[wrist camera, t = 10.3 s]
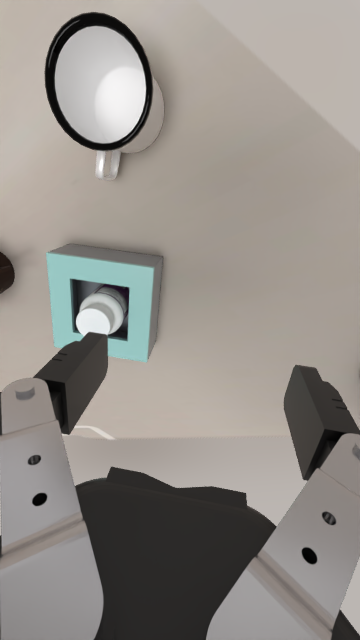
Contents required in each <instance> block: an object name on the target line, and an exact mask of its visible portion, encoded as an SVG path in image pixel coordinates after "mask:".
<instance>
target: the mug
mask: <svg viewBox="0 0 360 640" xmlns="http://www.w3.org/2000/svg"><path fill="white" fill-rule="evenodd" d="M45 88H46V93H47V98H48V101H49V104H50V107H51V110H52V112H53V114H54V116H55V118H56V120H57V121H58V123H59V124H60V126H61V127H62V128H63V130H64V131H65V132H66V133H67V134H68V135H69V136H70V137H71V138H72V139H73V140H75V141H76V142H78V143H79V144H81V145H83V146H85V147H87V148H90V149H92V150H97V155H96V170H95V172H96V177H97V178H98V179H101V180H106V181H111V180H114V179H115V178H116V176H117V173H118V167H119V162H120V156H121V152H123V153H136V152H140V151H142V150H144V149H146V148H147V147H149V146H150V145H151V144H152V143H153V142H154V140H155V139H156V138H157V136H158V134H159V132H160V130H161V128H162V124H163V120H164V101H163V96H162V92H161V90H160V88H159V85H158V83H157V82H156V80H155V79H154V77H153V75H152V71H151V67H150V62H149V60H148V57H147V55H146V52H145V50H144V48H143V46H142V45H141V43H140V42H139V40H138V38H137V37H136V36H135V35H134V33H133V32H132V31H131V30H130V29H129V28H128V27H127V26H126V25H125V24H123V23H122V22H121V21H119V20H118V19H116V18H115V17H112V16H110V15H107V14H105V13H98V12H89V13H83V14H80V15H78V16H75V17H73V18H71V19H70V20H69V21H68V22H66V23H65V24H64V25H63V26H62V27H61V28H60V29H59V31H58V32H57V33H56V35H55V36H54V38H53V40H52V43H51V45H50V47H49V50H48V54H47V57H46V64H45ZM106 151H112V157H111V168H110V173H109V175H108V176H104V166H105V158H106Z"/></svg>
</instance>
